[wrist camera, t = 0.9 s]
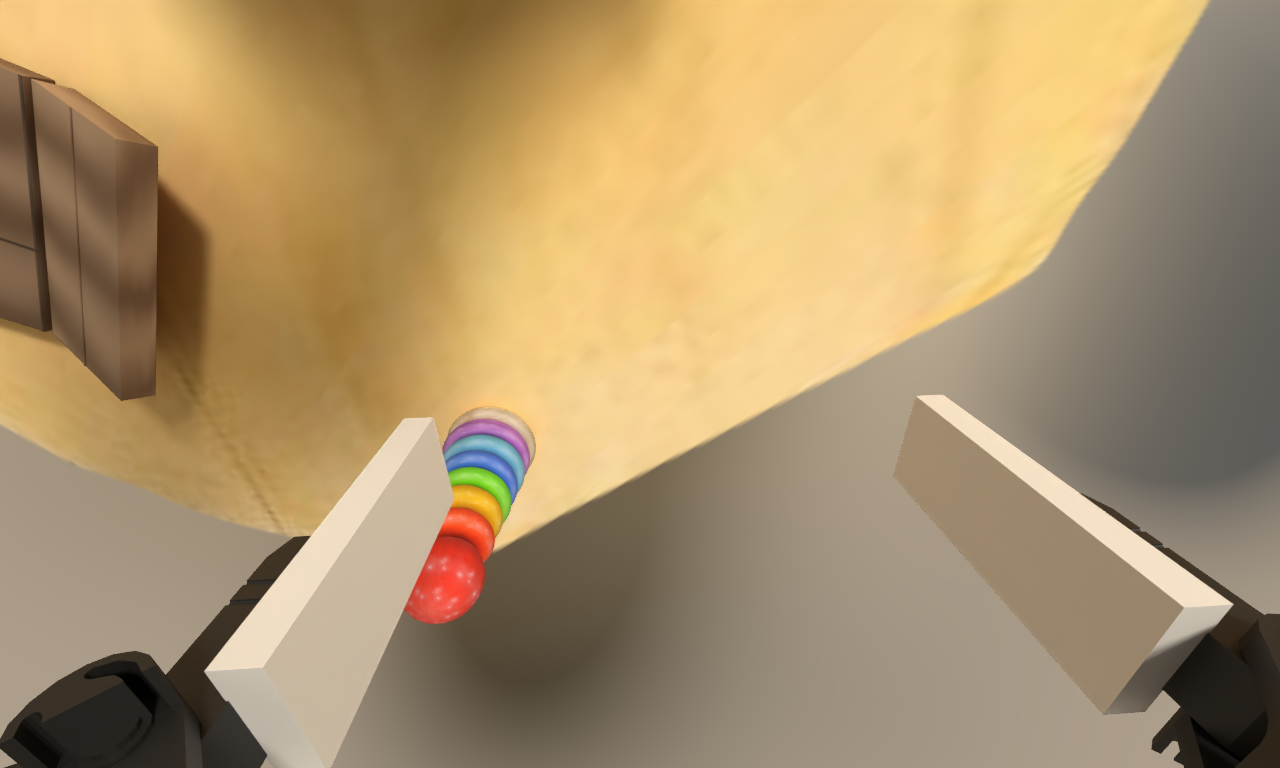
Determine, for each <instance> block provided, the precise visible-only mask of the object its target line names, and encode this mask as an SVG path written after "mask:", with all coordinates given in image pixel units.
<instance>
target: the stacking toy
mask: <svg viewBox="0 0 1280 768" xmlns="http://www.w3.org/2000/svg"><path fill="white" fill-rule="evenodd" d="M535 450H536V444H535V438H534V435H533V433H532V431H531V429H530V428H529V426H528V425H527V424H526V422H525V421H524V420H523V419H521V418H520V417H519V416H517V415H516V414H514V413H512V412H510V411H508V410H505V409H502V408H498V407H481V408H476V409H473V410H470V411H468V412H466V413H464V414H463V415H461V416H460V417H459V418H458V419H457V420H456V421H455V422H454V423H453V425H452V426H451V428H450V430H449V433H448V437H447V439H446V441H445V443H444V446H443V451H442V452H443V456H444V460H445V464H446V468H447V472H448V475H449V479H450V483H451V487H452V491H453V495H454V501H453V503H452V505H451V507H450V509H449V511H448V514H447V516H446V518H445V520H444V522H443V525H442V527H441V529H440V531H439V533H438V535H437V538H436V540H435V542H434V544H433V546H432V549H431V551H430V553H429V555H428V557H427V559H426V562H425V564H424V566H423V568H422V570H421V573H420V575H419V577H418V579H417V581H416V583H415V586H414V588H413V590H412V592H411V594H410V597H409V599H408V601H407V603H406V605H405V607H404V610H405V611H406V612H407V613H408V614H409V615H410V616H411V617H413V618H414V619H416V620H418V621H420V622H423V623H428V624H441V623H446V622H450V621H452V620H455V619H457V618H458V617H460V616H462V615H463V614H464V613H466V612H467V611H468V610H469V609H470V608H471V607H472V606H473V605H474V603H475V602H476V601H477V599H478V597H479V596H480V593H481V591H482V589H483V585H484V579H485V568H484V562H485V561H486V560H487V559H488V557H489V556H490V555H491V553H492V551H493V548H494V543H495V537H496V536H497V535H498V533H499V532H500V529H501V527H502V524H503V522H504V521H505V520H506V518H507V517H508V515H509V512H510V509H511V505H512V503H513V502H514V500H515V498H516V495H517V493H518V491H519V490H520V488H521V486H522V484H523V481H524V476H525V474H526V472H527V470H528V468H529V466H530V465H531V463H532V461H533V459H534V456H535Z"/></svg>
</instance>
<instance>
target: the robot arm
mask: <svg viewBox="0 0 1280 768" xmlns="http://www.w3.org/2000/svg"><path fill="white" fill-rule="evenodd" d="M893 476H894V478H895V479H896V480H897V481H898V482H899V483H900V484H901V486H902V487H903V488H904V489H905V490H906V491H907V492H908V493H909V495H910V496H911V497H912V498H913V499H914V500H915V502H916V503H918V505H919V506H920V507H921V508H922V509H923V510H924V512H925V513H926V514H927V515H928V516H929V517H930V519H931V520H932V521H933V522H934V523H935V524H936V525H937V526H938V528H939V529H940V530H941V531H942V532H943V533H944V534H945V536H946V537H947V538H948V539H949V540H950V541H951V542H952V543H953V545H954V546H955V547H956V548H957V549H958V550H959V552H960V553H961V554H962V555H963V556H964V557H965V558H966V559H967V561H968V562H969V563H970V564H971V565H972V566H973V567H974V569H975V570H976V571H977V572H978V573H979V574H980V575H981V576H982V578H983V579H984V580H985V581H986V582H987V583H988V585H989V586H990V587H991V588H992V589H993V590H994V591H995V592H996V594H997V595H998V596H999V597H1000V598H1001V599H1002V600H1003V602H1004V603H1005V604H1006V605H1007V606H1008V607H1009V608H1010V610H1011V611H1012V612H1013V613H1014V614H1015V615H1016V616H1017V617H1018V618H1019V620H1020V621H1021V622H1022V623H1023V624H1024V625H1025V627H1026V628H1027V629H1028V630H1029V631H1030V632H1031V633H1032V635H1033V636H1034V637H1035V638H1036V639H1037V640H1038V641H1039V642H1040V644H1041V645H1042V646H1043V647H1044V648H1045V649H1046V650H1047V652H1048V653H1049V654H1050V655H1051V656H1052V657H1053V658H1054V660H1056V662H1057V663H1058V664H1059V665H1060V666H1061V667H1062V668H1063V670H1064V671H1065V672H1066V673H1067V674H1068V675H1069V676H1070V678H1071V679H1072V680H1073V681H1074V682H1075V683H1076V684H1077V686H1078V687H1079V688H1080V689H1081V690H1082V691H1083V692H1084V694H1085V695H1086V696H1087V697H1088V698H1089V699H1090V700H1091V702H1092V703H1093V704H1094V705H1095V706H1096V707H1097V708H1098V710H1099V711H1100V712H1101V713H1102V714H1103V715H1105V714H1106V715H1107V714H1120V713H1134V712H1145V711H1146V710H1147V709H1148V707H1149V706H1150V705H1151V704H1152V703H1153V701H1154V700H1155V699H1156V698H1157V697H1158V695H1159V694H1160V693H1161V692H1162V691H1163V690H1164V691H1165V692H1166V693H1167V694H1168V695H1169V696H1170V697H1171V698H1172V699H1173V700H1174V701H1175V702H1176V703H1178V704H1179V705H1180V706H1181V707H1180V708H1179V710H1178V711H1177V712H1176V713H1175V714H1174V715H1173V717H1171V719H1170V720H1169V721H1168V722H1167V723H1166V724H1165V725H1164V727H1163V728H1162V729H1161V730H1160V731H1159V732H1158V733H1157V734H1156V736H1155V737H1154V738H1153V740H1152V750H1154V751H1156V752H1159V753H1160V754H1161V753H1162V752H1163V751H1164V749H1165V748H1166V747H1167V746H1168V745H1169V744H1170V743H1171V742H1172V741H1177V742H1178V745H1179V749H1180V752H1179V753H1178V754H1177V755H1176V757H1174V761H1176V762H1178V763H1181V764H1182V765H1184V768H1280V614H1266V615H1264V614H1262V613H1261V612H1259V611H1258V610H1256V609H1255V608H1253V607H1252V606H1250V605H1249V604H1247V603H1246V602H1245V601H1243V600H1242V599H1240V598H1239V597H1238V596H1236V595H1234V594H1233V593H1232V592H1230V591H1229V590H1228V589H1226V588H1225V587H1223V586H1222V585H1220V584H1219V583H1218V582H1216V581H1215V580H1213V579H1212V578H1211V577H1209V576H1208V575H1206V574H1205V573H1203V572H1202V571H1201V570H1199V569H1198V568H1196V567H1195V566H1193V565H1192V564H1190V563H1189V562H1188V561H1186V560H1185V559H1184V558H1182V557H1180V556H1179V555H1178V554H1176V553H1175V552H1173V551H1172V550H1170V549H1169V548H1164V547H1163V545H1162V543H1161V542H1159V541H1158V540H1157V539H1155V538H1154V537H1152V536H1151V535H1149V534H1148V533H1147V532H1141V531H1140V528H1139V527H1138V526H1137V525H1135V524H1134V523H1132V522H1131V521H1129V520H1128V519H1127V518H1125V517H1124V516H1122V515H1121V514H1120V513H1118V512H1117V511H1115V510H1114V509H1112V508H1110V507H1108V506H1106V505H1104V504H1102V503H1100V502H1098V501H1096V500H1094V499H1092V498H1090V497H1088V496H1086V495H1084V494H1082V493H1078V492H1077V491H1076V490H1074V489H1073V488H1071V487H1070V486H1068V485H1067V484H1066V483H1064V482H1063V481H1062V480H1060V479H1059V478H1057V477H1056V476H1055V475H1053V474H1052V473H1051V472H1049V471H1048V470H1046V469H1045V468H1044V467H1042V466H1041V465H1039V464H1038V463H1037V462H1035V461H1034V460H1032V459H1031V458H1030V457H1028V456H1027V455H1026V454H1024V453H1023V452H1021V451H1020V450H1019V449H1017V448H1016V447H1014V446H1013V445H1012V444H1010V443H1009V442H1008V441H1006V440H1005V439H1003V438H1002V437H1001V436H999V435H997V434H996V433H995V432H994V431H992V430H991V429H989V428H988V427H987V426H985V425H984V424H982V423H981V422H980V421H978V420H977V419H976V418H974V417H973V416H971V415H970V414H969V413H967V412H966V411H964V410H963V409H962V408H960V407H959V406H957V405H956V404H955V403H953V402H952V401H951V400H949V399H948V398H946V397H945V396H944V395H931V396H930V395H929V396H916V398H915V401H914V405H913V408H912V412H911V415H910V419H909V422H908V426H907V429H906V433H905V437H904V440H903V444H902V447H901V451H900V454H899V457H898V461H897V465H896V468H895V472H894V475H893ZM453 501H454V495H453V491H452V487H451V483H450V479H449V475H448V472H447V468H446V464H445V460H444V456H443V452H442V448H441V444H440V440H439V436H438V432H437V429H436V425H435V421H434V417H426V418H404V419H403V420H402V422H401V423H400V424H399V426H398V427H397V428H396V429H395V431H394V432H393V433H392V434H391V436H390V437H389V438H388V439H387V441H386V442H385V443H384V445H383V446H382V447H381V448H380V450H379V451H378V452H377V453H376V455H375V456H374V457H373V458H372V460H371V461H370V462H369V463H368V465H367V466H366V467H365V469H364V470H363V471H362V472H361V474H360V475H359V476H358V477H357V479H356V480H355V481H354V482H353V484H352V485H351V486H350V488H349V489H348V490H347V491H346V493H345V494H344V495H343V496H342V498H341V499H340V500H339V501H338V503H337V504H336V505H335V506H334V508H333V509H332V510H331V512H330V513H329V514H328V515H327V517H326V518H325V519H324V520H323V522H322V523H321V524H320V525H319V527H318V528H317V529H316V531H315V532H314V533H313V534H312V536H300V537H294V538H292V539H291V540H289V541H288V542H287V543H286V544H284V545H283V546H281V547H280V548H279V549H277V550H276V551H275V552H274V553H272V554H271V555H269V556H268V557H267V558H266V559H265V560H264V561H263V563H262V564H261V565H260V566H259V567H258V568H257V569H256V571H255V572H254V573H253V574H252V575H251V577H250V578H249V579H248V580H247V584H246V585H243V586H242V587H241V588H240V589H239V590H238V592H237V593H236V594H235V595H234V596H233V598H232V599H231V600H230V604H229V605H227V606H225V607H224V608H223V609H222V610H221V611H220V613H219V614H218V615H217V616H216V617H215V618H214V620H213V621H212V622H211V623H210V624H209V625H208V627H207V628H206V629H205V630H204V631H203V632H202V633H201V635H200V636H199V637H198V638H197V639H196V640H195V642H194V643H193V644H192V645H191V646H190V647H189V649H188V650H187V651H186V652H185V653H184V654H183V656H182V657H181V658H180V659H179V660H178V662H177V663H176V664H175V665H174V666H173V667H172V668H171V670H170V671H169V672H168V673H167V674H166V675H165V674H164V673H163V671H162V670H161V669H160V667H159V666H158V665H157V664H156V663H155V661H154V660H153V659H152V657H151V656H150V655H148V654H145V653H141V652H137V651H132V652H126V653H119V654H113V655H110V656H108V657H105V658H103V659H100V660H97V661H95V662H92V663H90V664H87V665H85V666H83V667H82V668H80V669H78V670H77V671H74V672H73V673H71V674H69V675H67V676H66V677H64V678H62V679H60V680H58V681H57V682H56V683H54V684H53V685H52V686H50V687H49V688H48V689H46V690H45V691H44V692H42V693H41V694H40V695H38V696H37V697H36V698H34V699H33V700H32V701H31V702H29V703H28V705H26V707H25V708H24V709H23V710H22V711H21V712H20V713H19V714H18V715H17V716H16V717H15V718H14V719H13V720H12V721H11V722H10V723H9V724H8V726H7V728H6V730H5V731H4V733H3V735H2V737H1V738H0V749H1V750H3V751H4V752H5V753H6V754H7V755H8V756H10V757H11V758H12V759H13V760H14V761H16V762H17V764H14V765H11V766H8V767H5V768H260V767H261V765H262V764H263V762H264V760H265V758H267V759H268V760H269V762H270V763H271V765H272V766H273V767H274V768H331V766H332V764H333V762H334V760H335V758H336V756H337V753H338V751H339V749H340V747H341V745H342V743H343V740H344V738H345V736H346V734H347V732H348V729H349V727H350V725H351V723H352V721H353V718H354V716H355V714H356V712H357V710H358V707H359V705H360V703H361V701H362V699H363V697H364V695H365V692H366V690H367V688H368V686H369V684H370V681H371V679H372V677H373V675H374V673H375V671H376V668H377V666H378V664H379V662H380V660H381V657H382V655H383V653H384V651H385V649H386V647H387V644H388V642H389V640H390V638H391V636H392V634H393V631H394V629H395V627H396V625H397V623H398V621H399V618H400V616H401V614H402V612H403V609H404V607H405V605H406V603H407V601H408V599H409V597H410V594H411V592H412V590H413V588H414V586H415V583H416V581H417V579H418V577H419V575H420V573H421V570H422V568H423V566H424V564H425V562H426V559H427V557H428V555H429V553H430V551H431V549H432V546H433V544H434V542H435V540H436V538H437V535H438V533H439V531H440V529H441V527H442V525H443V522H444V520H445V518H446V516H447V514H448V511H449V509H450V507H451V505H452V503H453Z"/></svg>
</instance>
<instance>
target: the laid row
mask: <svg viewBox="0 0 1280 768" xmlns="http://www.w3.org/2000/svg"><path fill="white" fill-rule="evenodd" d="M31 79H34V80H38V81H42V82H46V83H51V84H55V83H54V80H52V79H49V78H47V77H45V76H42V75H40V74H37V73H35V72H32V71H30V70H27V69H25V68H23V67H20V66H18V65H15V64H13V63H10V62H8V61H5V60H3V59H1V58H0V318H3V319H6V320H9V321H13V322H16V323H19V324H23V325H26V326H29V327H32V328H36V329H39V330H42V331H44V332H46V331H50V330H52V318H51V306H50V295H49V283H48V271H47V260H46V248H45V236H44V224H43V213H42V201H41V189H40V177H39V166H38V154H37V142H36V130H35V119H34V107H33V95H32V83H31Z"/></svg>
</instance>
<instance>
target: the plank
mask: <svg viewBox="0 0 1280 768" xmlns="http://www.w3.org/2000/svg"><path fill="white" fill-rule="evenodd" d="M31 83H32V95H33V107H34V119H35V130H36V142H37V154H38V166H39V177H40V189H41V201H42V213H43V224H44V236H45V248H46V260H47V271H48V283H49V295H50V306H51V318H52V330H53V334H54V335H55V336H56V337H57V338H58V339H59V340H60V341H61V342H62V343H63V344H64V345H65V346H66V347H67V348H68V349H69V350H70V351H71V352H72V353H73V354H74V355H75V356H76V357H78V358H79V359H80V360H81V361H82V362H83V363H84V366H87V367H88V368H89V369H90V370H91V371H92V372H93V373H94V374H95V375H96V376H97V377H98V378H99V379H100V380H101V381H102V382H103V383H104V384H105V385H106V386H107V387H108V388H109V389H110V390H111V391H112V392H113V393H114V394H115V395H116V396H117V397H118V398H119V399H120V400H121V401H123V400H129V399H135V398H141V397H147V396H153V395H155V386H156V292H157V199H158V147H157V146H156V145H155V144H153V143H152V142H150V141H149V140H147V139H146V138H144V137H143V136H141V135H140V134H139V133H137V132H136V131H134V130H133V129H131V128H130V127H128V126H127V125H126V124H124V123H123V122H121V121H120V120H118V119H117V118H115V117H114V116H112V115H111V114H110V113H108V112H107V111H105V110H104V109H102V108H101V107H99V106H98V105H97V104H95V103H94V102H92V101H91V100H89V99H88V98H86V97H85V96H83V95H82V94H81V93H79V92H78V91H76V90H75V89H71V88H67V87H63V86H59V85H55V84H51V83H46V82H42V81H38V80H34V79H31Z"/></svg>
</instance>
